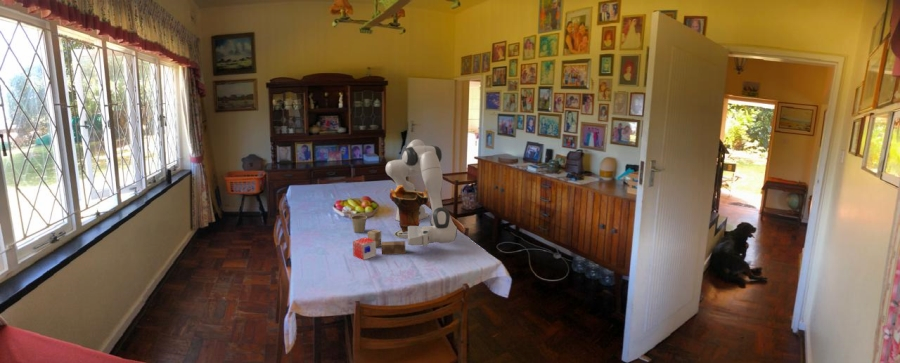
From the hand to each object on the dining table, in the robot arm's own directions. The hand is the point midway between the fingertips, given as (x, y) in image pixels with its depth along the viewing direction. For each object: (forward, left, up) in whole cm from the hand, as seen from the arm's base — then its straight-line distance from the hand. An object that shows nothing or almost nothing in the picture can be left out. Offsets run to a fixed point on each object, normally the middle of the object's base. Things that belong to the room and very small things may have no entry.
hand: (398, 235), depth 220 cm
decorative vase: (-22, -18, -9) cm, 30 cm away
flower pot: (-4, -42, -9) cm, 43 cm away
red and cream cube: (+16, -8, -9) cm, 20 cm away
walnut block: (-2, +2, -7) cm, 7 cm away
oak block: (+4, -16, -9) cm, 19 cm away
